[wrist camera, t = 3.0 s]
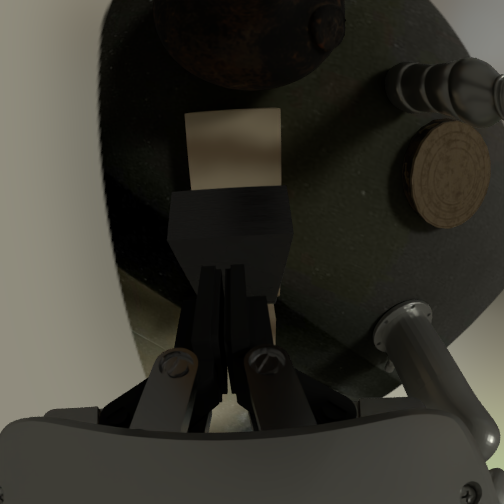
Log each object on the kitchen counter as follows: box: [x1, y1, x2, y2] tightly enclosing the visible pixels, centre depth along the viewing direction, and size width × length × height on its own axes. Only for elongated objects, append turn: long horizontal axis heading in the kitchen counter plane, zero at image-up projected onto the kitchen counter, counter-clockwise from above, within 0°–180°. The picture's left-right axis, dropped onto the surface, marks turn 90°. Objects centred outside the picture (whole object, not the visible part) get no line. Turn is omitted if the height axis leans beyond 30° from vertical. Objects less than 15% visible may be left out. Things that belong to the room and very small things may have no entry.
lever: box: [167, 185, 294, 304], centre depth 23 cm, size 23×5×3 cm
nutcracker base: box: [185, 108, 281, 345], centre depth 32 cm, size 24×10×12 cm, turn 2°
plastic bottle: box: [385, 58, 504, 128], centre depth 21 cm, size 6×7×20 cm
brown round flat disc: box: [402, 118, 490, 228], centre depth 34 cm, size 16×16×3 cm
